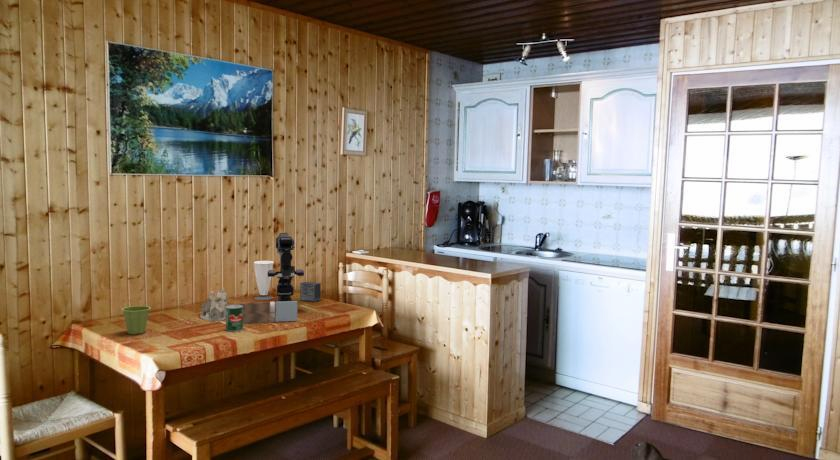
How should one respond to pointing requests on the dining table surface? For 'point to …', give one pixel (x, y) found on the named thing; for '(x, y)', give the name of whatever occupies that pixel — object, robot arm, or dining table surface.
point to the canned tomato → (234, 317)
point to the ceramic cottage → (215, 307)
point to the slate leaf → (285, 310)
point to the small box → (310, 291)
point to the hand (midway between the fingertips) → (285, 289)
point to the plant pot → (136, 318)
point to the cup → (263, 278)
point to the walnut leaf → (257, 313)
